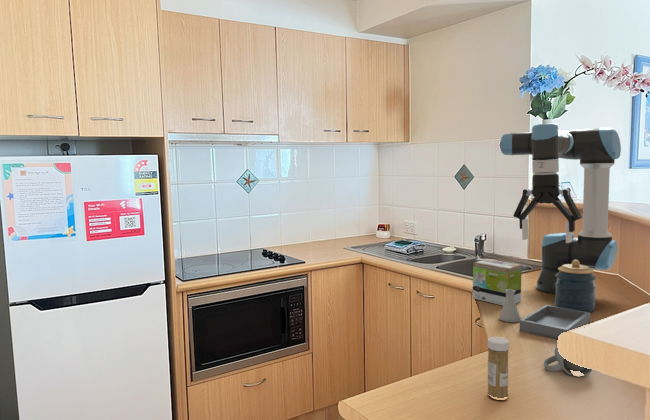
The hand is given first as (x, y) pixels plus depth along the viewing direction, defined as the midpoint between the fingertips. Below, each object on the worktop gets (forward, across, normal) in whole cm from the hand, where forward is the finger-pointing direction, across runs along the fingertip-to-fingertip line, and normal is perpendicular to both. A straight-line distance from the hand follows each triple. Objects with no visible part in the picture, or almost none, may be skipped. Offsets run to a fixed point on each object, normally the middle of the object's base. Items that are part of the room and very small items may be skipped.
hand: (546, 240), depth 155 cm
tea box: (+28, -26, +16) cm, 41 cm away
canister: (+29, -1, +25) cm, 38 cm away
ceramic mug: (+28, +18, -31) cm, 45 cm away
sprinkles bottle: (+27, +12, -56) cm, 63 cm away
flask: (+28, -12, -2) cm, 30 cm away
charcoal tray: (+28, +2, 0) cm, 28 cm away
